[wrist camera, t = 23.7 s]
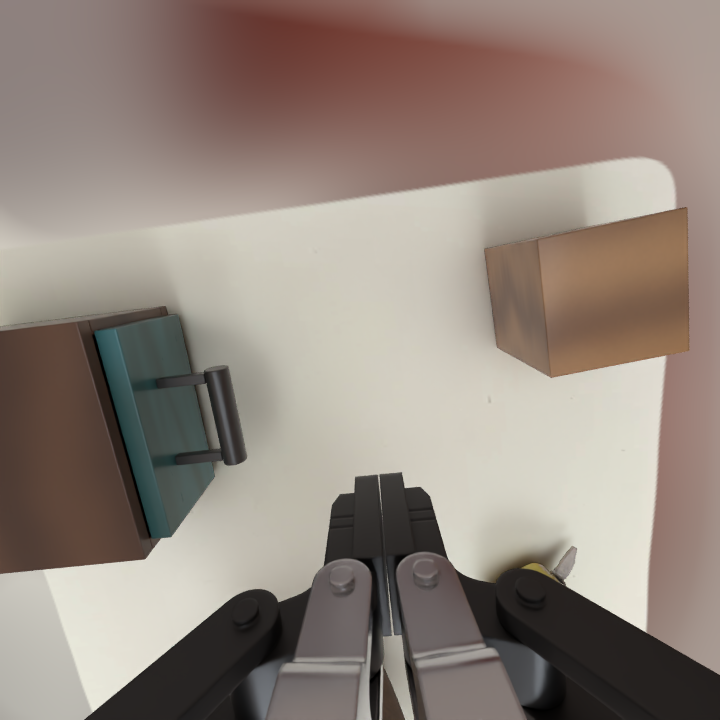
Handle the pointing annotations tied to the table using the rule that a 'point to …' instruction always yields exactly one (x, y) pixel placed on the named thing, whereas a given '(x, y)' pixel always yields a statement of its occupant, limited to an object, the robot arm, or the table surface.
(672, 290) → the cube
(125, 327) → the drawer
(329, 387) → the table surface
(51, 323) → the cabinet
